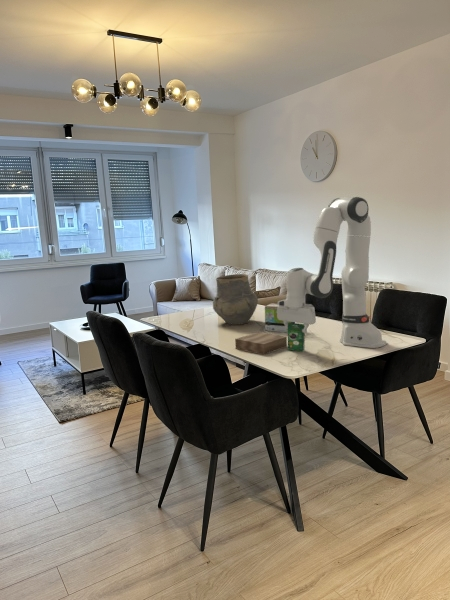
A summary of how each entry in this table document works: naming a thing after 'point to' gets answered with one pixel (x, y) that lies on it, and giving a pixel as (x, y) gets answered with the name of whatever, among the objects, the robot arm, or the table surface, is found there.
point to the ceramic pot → (234, 299)
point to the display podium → (261, 342)
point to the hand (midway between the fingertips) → (296, 331)
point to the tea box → (273, 319)
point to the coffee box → (296, 337)
